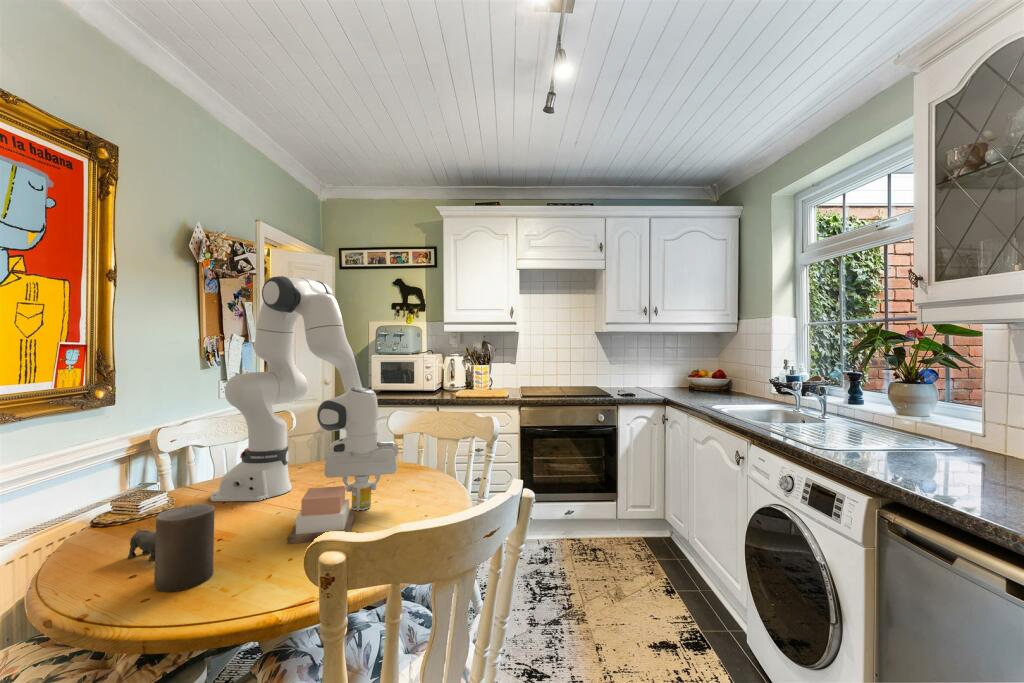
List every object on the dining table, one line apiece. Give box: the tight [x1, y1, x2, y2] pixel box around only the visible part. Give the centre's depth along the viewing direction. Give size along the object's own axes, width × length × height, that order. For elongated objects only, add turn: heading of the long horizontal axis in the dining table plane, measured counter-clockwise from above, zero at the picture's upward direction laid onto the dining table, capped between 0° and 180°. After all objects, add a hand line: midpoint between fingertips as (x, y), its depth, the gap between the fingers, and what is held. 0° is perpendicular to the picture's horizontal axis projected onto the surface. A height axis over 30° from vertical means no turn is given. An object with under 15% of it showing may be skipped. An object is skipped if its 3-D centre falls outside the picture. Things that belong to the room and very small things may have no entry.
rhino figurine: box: [127, 529, 156, 562], centre depth 99 cm, size 4×14×6 cm, turn 79°
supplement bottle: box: [351, 475, 372, 512], centre depth 131 cm, size 5×5×10 cm
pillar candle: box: [153, 503, 215, 593], centre depth 90 cm, size 10×10×15 cm
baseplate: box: [286, 511, 356, 545], centre depth 115 cm, size 14×14×2 cm
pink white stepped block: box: [295, 485, 350, 534], centre depth 115 cm, size 11×11×8 cm
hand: (361, 490), depth 131 cm, fingers closed on supplement bottle, 5 cm apart
